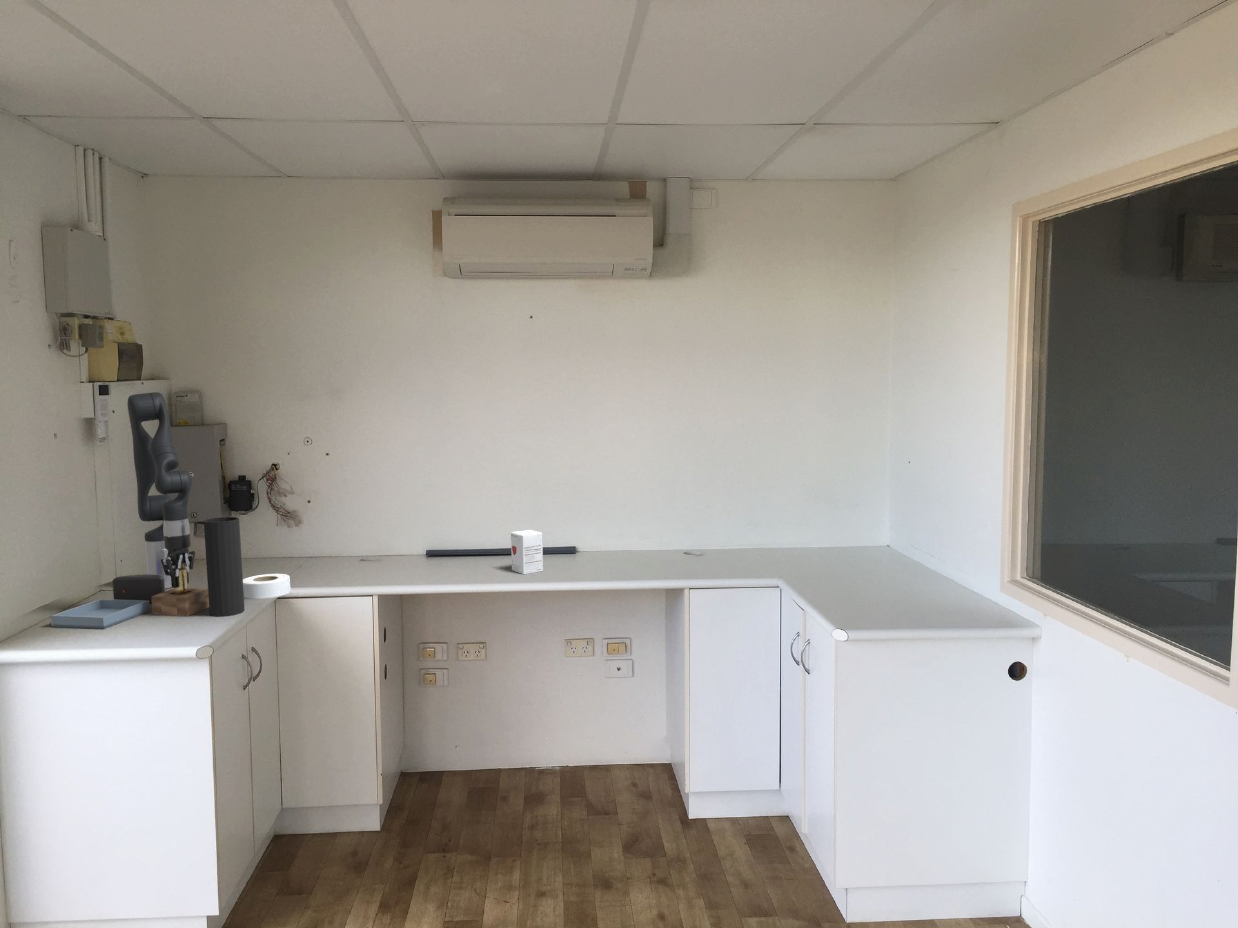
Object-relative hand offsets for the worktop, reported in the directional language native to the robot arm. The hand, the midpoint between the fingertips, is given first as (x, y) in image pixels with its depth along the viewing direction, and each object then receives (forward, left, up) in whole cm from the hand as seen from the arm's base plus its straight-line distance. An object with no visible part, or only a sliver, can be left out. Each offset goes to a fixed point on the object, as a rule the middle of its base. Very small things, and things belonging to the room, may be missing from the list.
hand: (180, 585), depth 284 cm
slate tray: (+12, -19, -8) cm, 24 cm away
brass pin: (0, 0, -8) cm, 8 cm away
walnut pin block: (0, 0, -8) cm, 8 cm away
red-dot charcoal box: (-6, -20, -9) cm, 23 cm away
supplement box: (-68, +96, -9) cm, 118 cm away
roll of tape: (-24, +15, -9) cm, 30 cm away
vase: (0, +16, -8) cm, 18 cm away
